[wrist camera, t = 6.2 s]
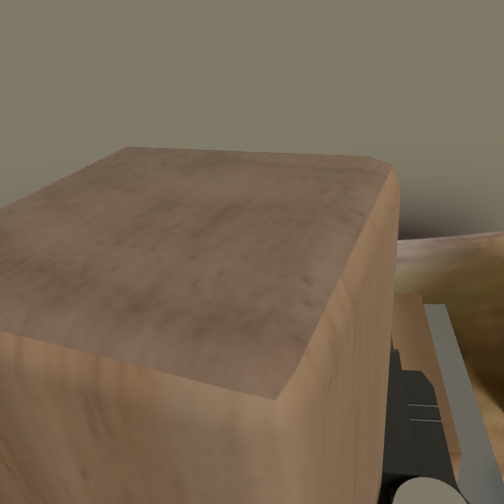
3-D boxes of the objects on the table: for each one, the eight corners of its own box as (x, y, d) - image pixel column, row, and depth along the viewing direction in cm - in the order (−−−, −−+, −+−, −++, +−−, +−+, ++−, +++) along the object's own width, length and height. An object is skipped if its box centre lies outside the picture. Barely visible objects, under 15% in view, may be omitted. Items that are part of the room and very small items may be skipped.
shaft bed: (140, 491, 22) (102, 380, 19) (215, 301, 36) (200, 217, 32) (507, 524, 19) (539, 400, 16) (439, 303, 32) (449, 210, 29)
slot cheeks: (179, 471, 22) (169, 433, 21) (228, 324, 31) (223, 292, 30) (455, 493, 20) (461, 453, 18) (418, 327, 29) (420, 293, 28)
